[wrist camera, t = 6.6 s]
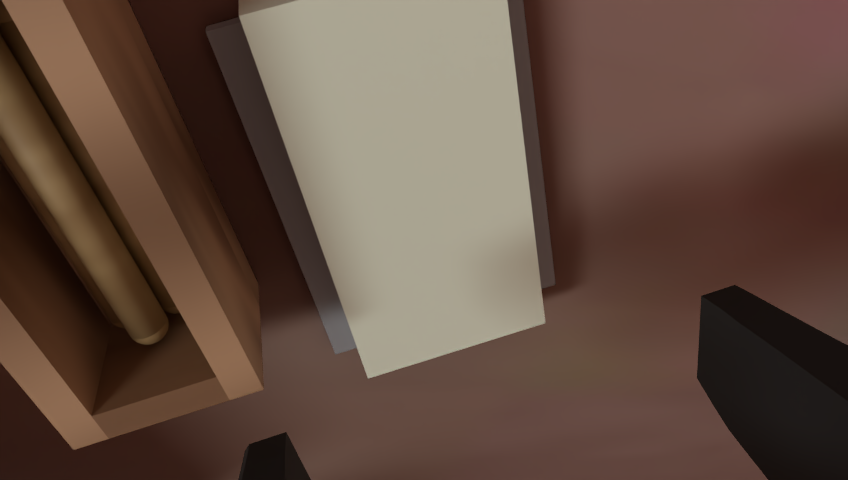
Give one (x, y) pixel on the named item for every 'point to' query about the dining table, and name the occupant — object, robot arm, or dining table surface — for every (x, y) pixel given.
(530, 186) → the mat
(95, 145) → the pen box
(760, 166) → the dining table surface
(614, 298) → the dining table surface
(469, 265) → the lid
